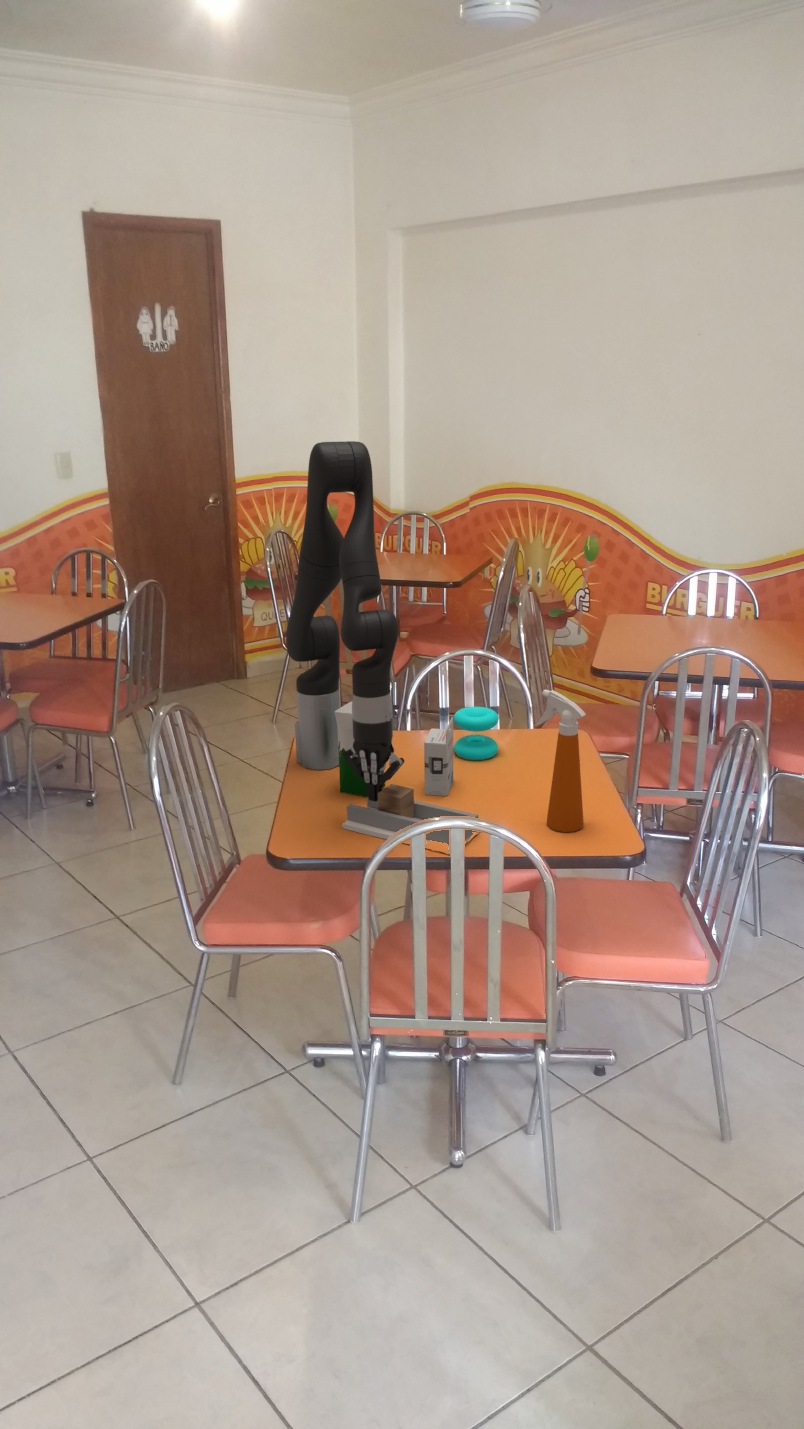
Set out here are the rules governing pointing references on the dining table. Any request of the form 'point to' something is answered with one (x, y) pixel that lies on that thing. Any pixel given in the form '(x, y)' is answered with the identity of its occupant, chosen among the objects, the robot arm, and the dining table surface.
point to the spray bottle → (565, 765)
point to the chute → (399, 820)
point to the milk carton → (345, 742)
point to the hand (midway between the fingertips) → (374, 799)
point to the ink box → (439, 761)
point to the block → (397, 800)
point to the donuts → (476, 721)
